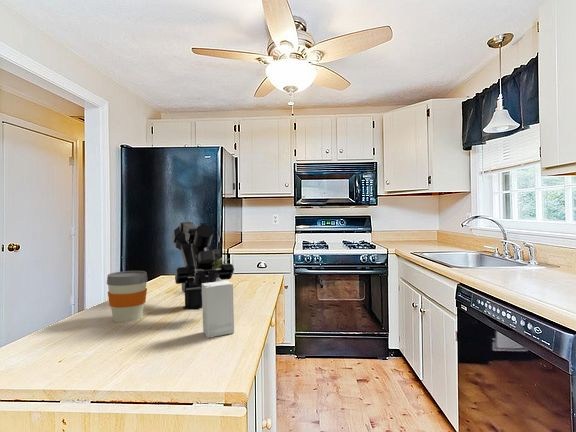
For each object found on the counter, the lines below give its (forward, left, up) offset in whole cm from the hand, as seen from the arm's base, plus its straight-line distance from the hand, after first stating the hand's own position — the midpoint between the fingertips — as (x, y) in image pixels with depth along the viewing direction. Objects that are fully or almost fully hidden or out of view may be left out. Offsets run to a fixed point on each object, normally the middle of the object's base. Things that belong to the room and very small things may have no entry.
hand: (209, 294), depth 113 cm
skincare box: (+6, -9, -9) cm, 14 cm away
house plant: (-13, +47, -9) cm, 50 cm away
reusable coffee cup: (-29, +3, -9) cm, 31 cm away
